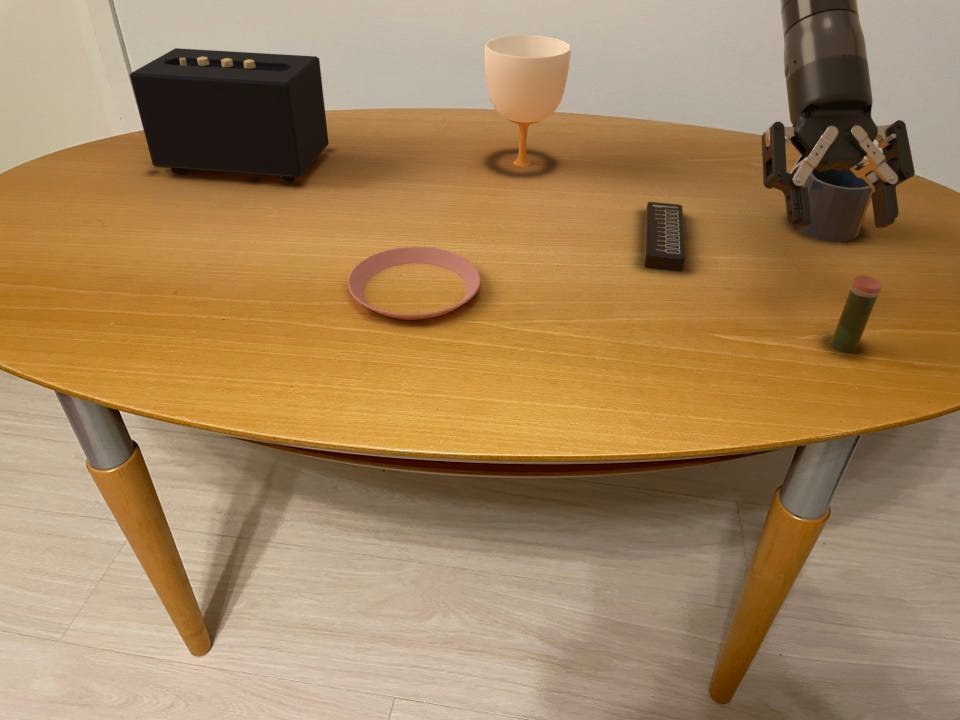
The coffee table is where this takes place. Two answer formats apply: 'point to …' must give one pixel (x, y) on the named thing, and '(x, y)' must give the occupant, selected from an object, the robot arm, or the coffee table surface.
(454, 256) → the ring
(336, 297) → the coffee table surface
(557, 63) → the cup
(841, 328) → the pencil
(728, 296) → the coffee table surface
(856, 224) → the pen cup
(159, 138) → the speaker
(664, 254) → the dark brown flat block
